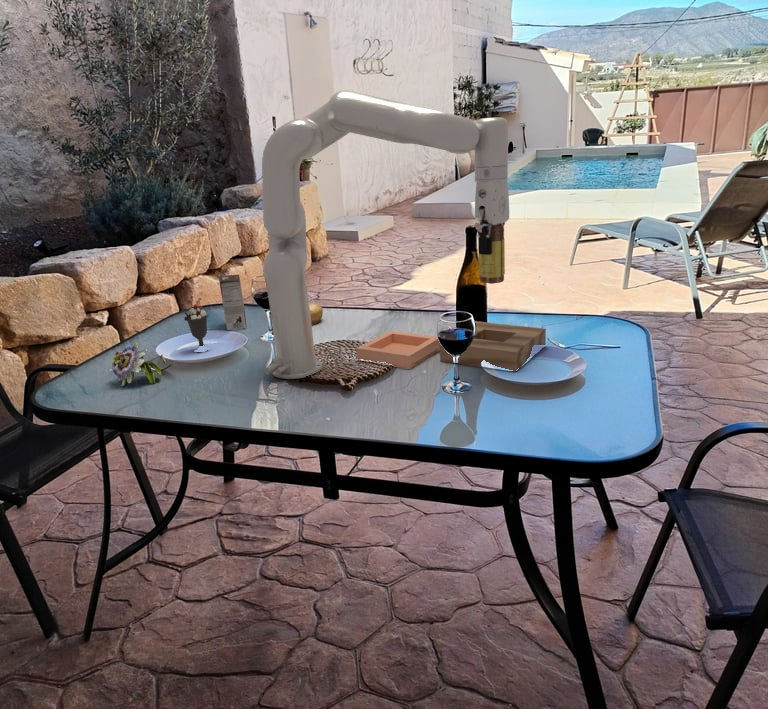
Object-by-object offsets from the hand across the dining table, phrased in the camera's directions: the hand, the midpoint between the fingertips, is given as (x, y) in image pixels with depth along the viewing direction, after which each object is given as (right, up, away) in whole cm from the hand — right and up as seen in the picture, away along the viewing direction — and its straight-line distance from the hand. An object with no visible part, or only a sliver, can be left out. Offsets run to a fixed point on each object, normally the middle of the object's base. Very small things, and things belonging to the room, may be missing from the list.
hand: (491, 251), depth 150 cm
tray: (-22, -25, +13) cm, 36 cm away
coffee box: (-74, -16, +51) cm, 91 cm away
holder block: (+2, -25, +9) cm, 26 cm away
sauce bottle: (0, -7, +3) cm, 8 cm away
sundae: (-78, -24, +29) cm, 87 cm away
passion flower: (-88, -32, +8) cm, 94 cm away
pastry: (-51, -15, +50) cm, 73 cm away
